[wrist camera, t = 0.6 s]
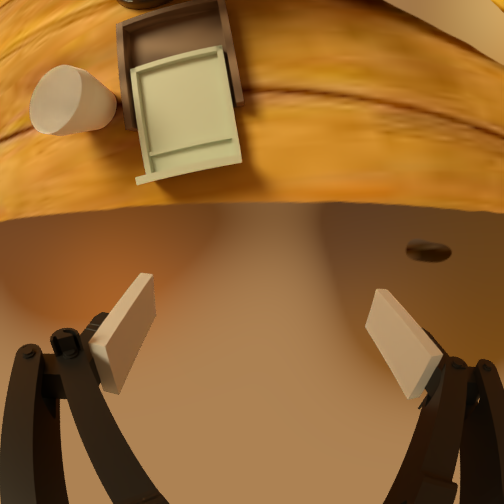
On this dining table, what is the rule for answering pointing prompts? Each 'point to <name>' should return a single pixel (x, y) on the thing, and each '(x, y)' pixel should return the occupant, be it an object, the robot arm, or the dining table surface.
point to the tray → (185, 114)
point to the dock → (174, 43)
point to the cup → (70, 102)
